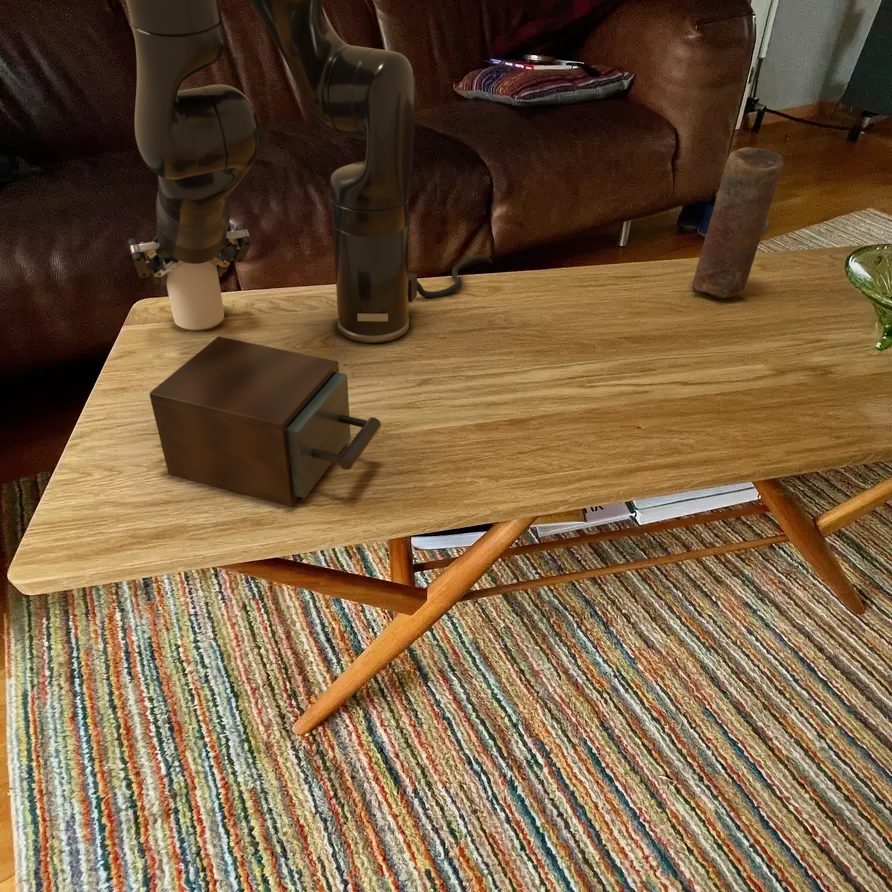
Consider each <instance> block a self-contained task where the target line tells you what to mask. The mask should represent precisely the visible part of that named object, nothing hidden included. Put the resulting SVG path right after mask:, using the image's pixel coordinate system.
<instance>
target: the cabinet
mask: <svg viewBox="0 0 892 892" xmlns="http://www.w3.org/2000/svg"><path fill="white" fill-rule="evenodd" d="M339 369H340V368H339V361H338V360H335V359H329V358H325V357H319V356H316V355H315V356H314V355H310V354H305V353H301V352H295V351H291V350H286V349H281V348H277V347H271V346H267V345H261V344H257V343H252V342H247V341H244V340H239V339H233V338H230V337H229V338H228V337H223V336H216V337H215V338H214V339H213V340H212V341H211V342H209V343H208V344H207V345H205V347H203V348H202V349H201V350H199V351H198V352H197V353H196V354H195V355H194V356H193V357H190V359H188V360H187V362H185V363H184V364H182V365H181V366H180V367H178V369H177V370H175V371H174V372H173V373H172V374H171V375H169V376H167V378H165V379H164V380H163V381H162V382H161V383H159V384H158V385H157V386H156V387H155V388H154V389H152V390H151V391H150V392H149V393H148V395H149V398H150V404H151V407H152V412H153V416H154V420H155V424H156V428H157V432H158V433H157V434H158V436H159V437H158V438H159V441H160V445H161V449H162V454H163V457H164V461H165V465H166V470H167V474H168V475H170V476H174V477H178V478H181V479H185V480H188V481H193V482H197V483H201V484H203V485H204V484H205V485H209V486H212V487H216V488H219V489H223V490H228V491H231V492H235V493H239V494H242V495H246V496H250V497H254V498H257V499H261V500H264V501H268V502H269V501H270V502H273V503H277V504H280V505H284V506H288V507H293V505H294V504H295V503H296V501H297V500H298V499H299V497H298V496H295V495H294V490H293V482H292V473H291V464H290V456H289V447H288V439H287V425H288V424H289V423H290V422H291V421H292V420H293V419H294V417H295V416H296V415H297V414H298V413H299V412H300V411H301V410H302V408H303V407H304V406H305V405H306V404H307V403H308V402H309V401H310V399H311V398H312V397H313V396H314V395H315V394H316V393H317V392H318V390H319V389H320V388H321V387H322V388H323V387H324V386H325V385H326V384H327V382H328V381H329V380H330V379H331V378H332V377H333V376H334V374H335V373H336V372H338V373H340V370H339Z"/></svg>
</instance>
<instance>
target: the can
mask: <svg viewBox="0 0 892 892" xmlns="http://www.w3.org/2000/svg"><path fill="white" fill-rule="evenodd" d="M165 286H166V290H167V294H168V298H169V304H170V309H171V314H172V319H173V321H174V324H176V326H177V327H179V328H180V329H183V330H186V331H192V332H198V331H207V330H210V329H213V328H215V327H217V326H218V325H220V324H221V323H222V321H224V318H225V311H224V304H223V298H222V297H223V296H222V290H221V284H220V277H218V271H217V265H213V264H211V263H210V262H205V263H200V264H191V263H187V264H182V265H181V266H180V267H179V268H178V269H176V270H175V271H174V272H167V273H166V285H165Z"/></svg>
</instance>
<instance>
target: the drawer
mask: <svg viewBox="0 0 892 892" xmlns="http://www.w3.org/2000/svg"><path fill="white" fill-rule="evenodd" d="M348 384H349V382H348V374H346V373H342V372H339V373H338V372H336V373H335V374H334V376H333V377H332V378H331V379H330V380H329V381H328V382H327V384H326V385H325V386H324V387H323V388H322V387H321V388H320V389H319V390H318V392H317V393H316V394H315V395H314V396H313V397H312V398H311V399H310V401H309V402H308V403H307V404H306V405H305V406H304V407H303V408H302V410H301V411H300V412H299V413H298V414H297V415H296V416H295V417H294V419H293V420H292V421H291V422H290V423H289V424H288V425H287V439H288V447H289V456H290V464H291V473H292V482H293V490H294V495H295V496H298V498H303V499H306V498H307V497H308V495H309V494H310V492H311V491H312V490H313V488H314V487H315V485H316V484H317V483H318V482H319V480H320V479H321V478H322V476H323V475H324V474H325V472H326V471H327V470H328V469H329V467H330V466H331V464H332V463H336V464H338V467H340V468H341V469H342V470H344V471H349V470H351V469H352V468H353V466H354V465H355V464H356V462H357V461H358V460H359V458H360V456H361V455H362V454H363V452H364V451H365V450H366V448H367V447H368V445H369V444H370V443H371V441H372V439H373V438H374V437H375V435H376V434H377V432H379V430H380V428H381V427H382V424H381V421H380V419H379V418H377V417H373V416H372V417H369V418H368V419H367V420H366V419H364V418H363V419H362V418H358V417H354V416H350V403H349V402H350V401H349V385H348ZM351 426H354V427H359V428H360V430H359V431H358V433H357V434H356V435H355V437H354V438H353V439H352V441H351V442H350V443H349V445H348V446H347V447H346V449H345V450H344V451H343V453H342V454H339V453H340V452H341V451H342V450H343V448H344V447H345V446H346V444H347V443H348V442H349V440H350V439H351Z"/></svg>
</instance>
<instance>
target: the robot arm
mask: <svg viewBox="0 0 892 892" xmlns="http://www.w3.org/2000/svg"><path fill="white" fill-rule="evenodd" d="M125 1H126V6H127V10H128V14H129V18H130V23H131V28H132V32H133V38H134V45H135V54H136V55H135V57H136V88H135V89H136V90H135V102H134V103H135V104H134V135H135V141H136V145H137V150H138V151H139V155H140V156H141V158H142V160H143V161H144V163H145V164H146V166H147V167H148V168H149V169H150V170H151V172H153V173H154V174H156V175H157V182H158V183H157V187H158V191H157V194H156V201H155V212H156V213H155V214H156V235H155V236H154V237H153V239H152V241H150V242H143V241H141V242H140V239H139V238H136V237H135V238H133V237H132V238H129V239H128V240H127V243H128V247H129V250H130V255H131V257H132V258H131V259H132V262H133V264H134V267H135V270H136V273H137V276H138V277H139V278H148V277H149V276H150V274H151V276H152V279H153V282H154V283H155V284H159V286H160V287H164V286H167V285H166V273H167V272H174V271H175V270H176V269H178V268H179V267H180V266H181V265H182V264H187V263H191V264H200V263H205V262H210V263H211V264H213V265H217V271H218V278H221V277H223V274H225V273H226V272H227V271H228V268H229V266H230V265H231V262H235V264H236V263H243V262H245V260H246V258H247V256H248V254H249V251H250V248H251V247H252V239H251V236H250V232H249V229H248V226H247V224H246V223H239V224H236V226H235V228H234V229H231V230H230V231H228V230H229V224H230V221H231V204H230V199H231V194H232V192H233V191H234V190H235V189H236V188H237V186H238V185H239V184H240V183H241V181H243V179H244V178H245V176H247V174H248V172H249V171H250V169H251V168H252V166H253V165H254V163H255V160H256V158H257V155H258V152H259V148H260V139H261V137H260V135H261V134H260V132H261V131H260V123H259V119H258V116H257V113H256V110H255V108H254V106H253V104H252V102H251V101H250V99H248V97H247V96H246V95H245V94H244V93H243V92H241V90H239V89H237V88H236V87H234V86H231V85H227V84H211V85H206V86H199V87H194V88H188V89H182V90H180V87H181V85H182V83H183V82H184V81H186V80H187V79H188V78H189V77H191V76H193V75H195V74H196V73H198V72H200V71H203V70H205V69H207V68H209V67H211V66H213V65H214V64H216V63H217V62H218V61H220V60H221V58H222V57H223V55H224V53H225V46H226V43H225V40H226V39H225V31H224V25H223V19H222V10H221V3H220V0H125ZM248 1H249V2H250V4H251V5H252V8H253V9H254V11H255V12H256V14H257V15H258V17H259V19H260V20H261V22H262V23H263V25H264V27H265V29H266V30H267V32H268V33H269V35H270V37H271V39H272V40H273V42H274V43H275V45H276V47H277V48H278V50H279V52H280V53H281V56H282V57H283V59H284V61H285V64H286V65H287V67H288V69H289V71H290V73H291V75H292V77H293V79H294V81H295V84H296V86H297V88H298V89H299V92H300V94H301V95H302V97H303V100H304V101H305V104H306V105H307V107H308V109H309V110H310V112H311V114H312V116H313V117H314V118H315V120H316V121H317V123H318V124H319V125H320V126H321V127H322V128H323V129H325V130H326V131H327V132H328V131H329V132H330V133H333V134H335V135H339V136H342V137H346V138H347V137H348V138H353V139H359V140H365V141H366V147H365V159H364V160H362V161H357V162H352V163H349V164H346V165H343V166H340V167H339V168H337V169H336V170H334V171H333V172H332V174H331V176H330V180H329V188H330V189H329V191H330V205H331V207H330V208H331V222H332V238H333V239H332V240H333V254H334V270H335V271H334V272H335V273H334V274H335V289H336V306H337V330H338V332H340V334H341V335H342V336H344V337H345V338H347V339H349V340H352V341H354V342H355V341H356V342H360V343H368V344H377V343H378V344H379V343H385V342H386V343H387V342H390V341H395V340H396V339H398V338H401V337H402V336H404V335H405V334H406V333H407V332H408V330H409V327H410V317H409V303H413V301H414V300H415V299H416V298H417V297H418V294H419V295H420V296H421V297H423V298H428V299H429V298H430V299H434V298H440V297H445V296H448V295H450V294H453V293H454V292H456V291H457V290H459V289H460V288H461V286H462V279H461V276H460V275H459V273H458V272H459V271H461V270H462V269H463V268H465V267H467V266H468V265H470V264H473V263H476V262H484V263H486V264H487V265H491V264H493V263H494V262H493V260H492V258H490V257H489V256H487V255H484V254H477V255H473V256H470V257H468V258H466V259H464V260H462V261H461V262H458V263H457V264H456V265H455V266H454V267H453V268H452V269H451V276H452V278H453V280H454V284H452V285H450V286H448V287H446V288H444V289H441V290H435V291H429V290H425V289H424V287H423V286H422V284H421V282H419V281H418V274H417V273H412V272H411V273H410V272H409V191H410V189H409V187H410V181H411V177H412V171H413V165H414V164H413V163H414V161H413V160H414V141H415V140H414V139H415V137H414V136H415V124H416V123H415V122H416V109H417V107H416V105H417V89H416V78H415V74H414V73H415V72H414V70H413V67H412V65H411V62H410V61H409V59H408V58H407V57H406V56H405V55H404V54H403V53H400V52H397V51H393V50H388V49H387V50H386V49H379V48H372V47H366V46H358V45H351V44H348V43H346V42H345V41H344V40H342V39H341V37H340V36H339V35H338V33H337V32H336V31H335V29H334V27H333V25H332V24H331V22H330V20H329V18H328V15H327V13H326V11H325V8H324V0H248ZM228 245H229V246H228ZM457 276H459V277H457Z"/></svg>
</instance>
